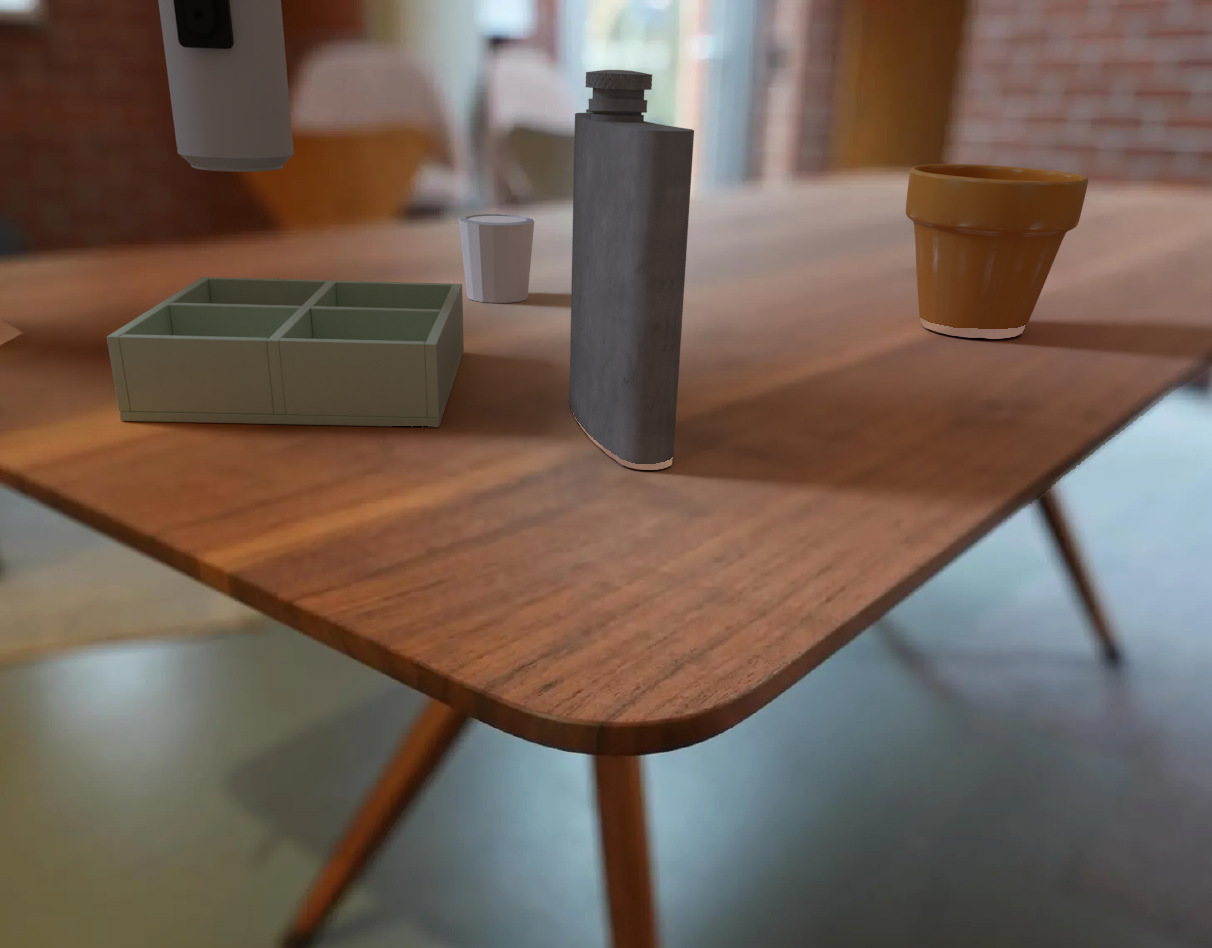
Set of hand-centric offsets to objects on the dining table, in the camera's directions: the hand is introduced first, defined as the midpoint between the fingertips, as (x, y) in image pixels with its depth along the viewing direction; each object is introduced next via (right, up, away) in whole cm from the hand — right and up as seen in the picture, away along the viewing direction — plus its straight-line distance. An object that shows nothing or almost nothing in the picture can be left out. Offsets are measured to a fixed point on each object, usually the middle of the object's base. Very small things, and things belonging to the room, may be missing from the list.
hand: (224, 46), depth 72 cm
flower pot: (+57, -12, +26) cm, 64 cm away
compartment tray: (+5, -21, +4) cm, 22 cm away
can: (0, -7, +3) cm, 7 cm away
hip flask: (+25, -25, -3) cm, 36 cm away
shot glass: (+14, -7, +32) cm, 36 cm away
